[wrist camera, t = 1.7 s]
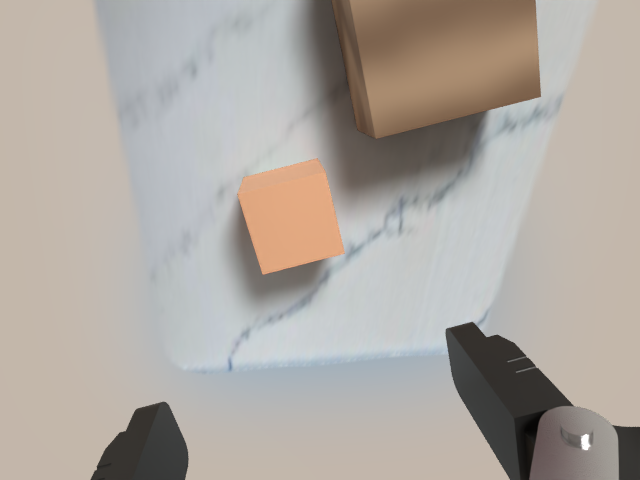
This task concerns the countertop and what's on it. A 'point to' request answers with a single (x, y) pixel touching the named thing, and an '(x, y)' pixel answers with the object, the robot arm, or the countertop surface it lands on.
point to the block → (290, 216)
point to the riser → (435, 59)
